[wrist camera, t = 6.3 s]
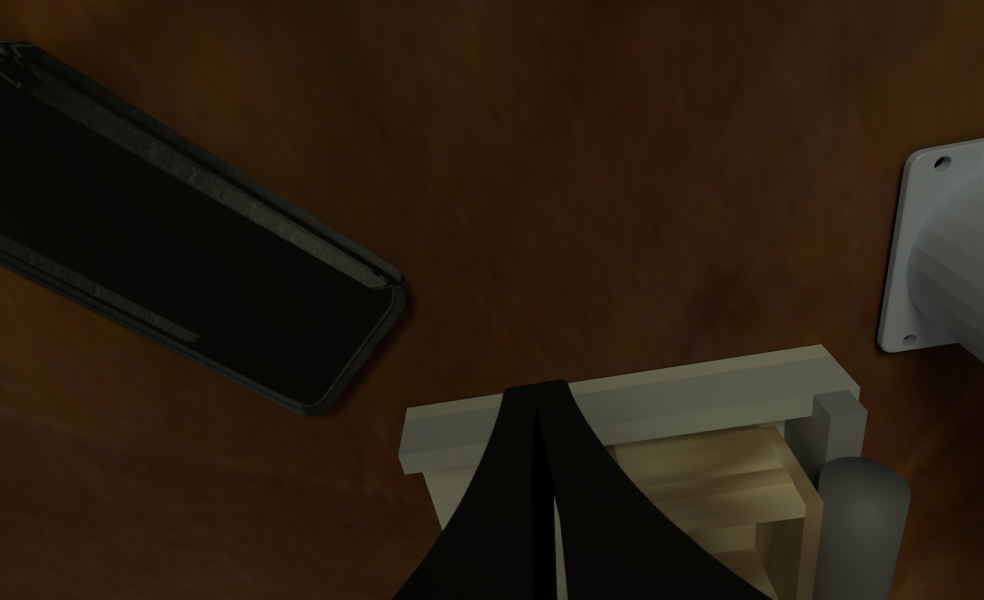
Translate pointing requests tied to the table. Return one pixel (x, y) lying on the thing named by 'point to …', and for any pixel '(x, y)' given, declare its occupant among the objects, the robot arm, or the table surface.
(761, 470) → the crate
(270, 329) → the phone
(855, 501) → the bay
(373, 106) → the table surface
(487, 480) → the robot arm
